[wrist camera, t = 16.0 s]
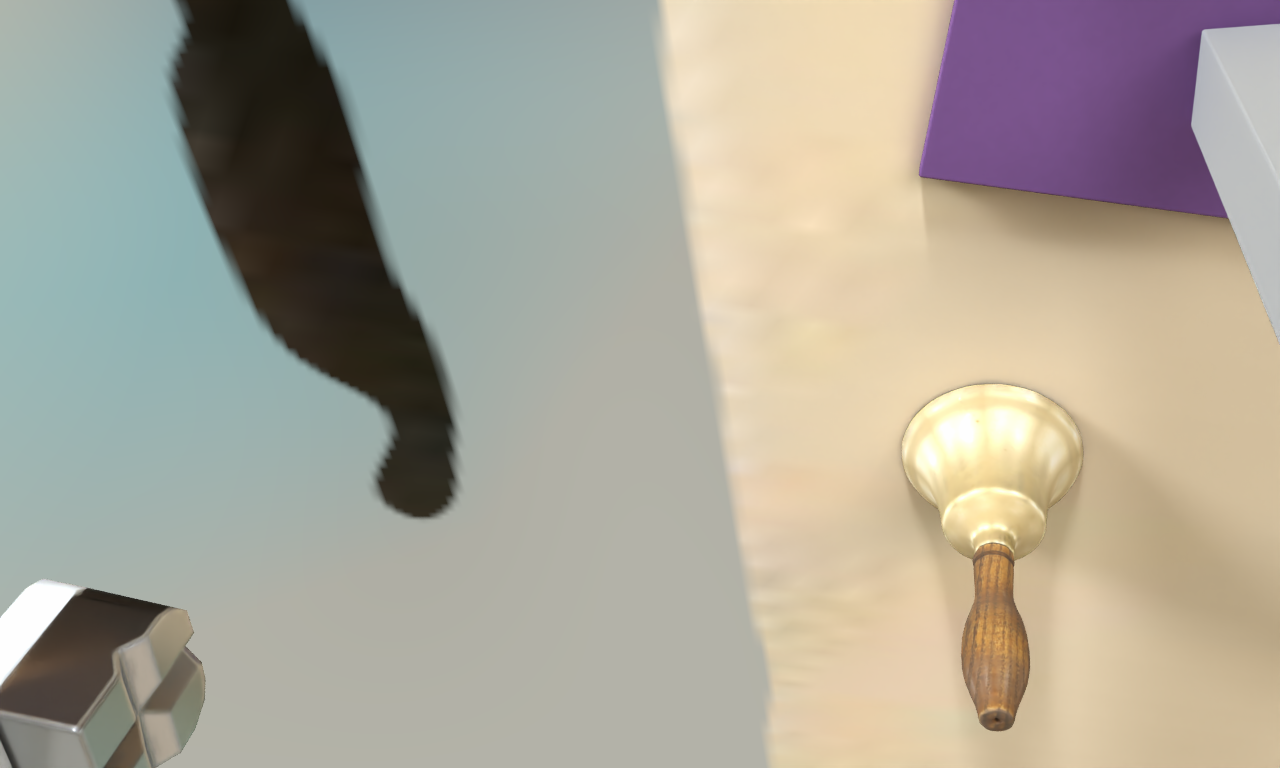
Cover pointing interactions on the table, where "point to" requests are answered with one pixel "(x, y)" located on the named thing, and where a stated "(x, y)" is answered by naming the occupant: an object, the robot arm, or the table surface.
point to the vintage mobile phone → (1245, 143)
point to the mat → (1079, 98)
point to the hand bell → (993, 515)
